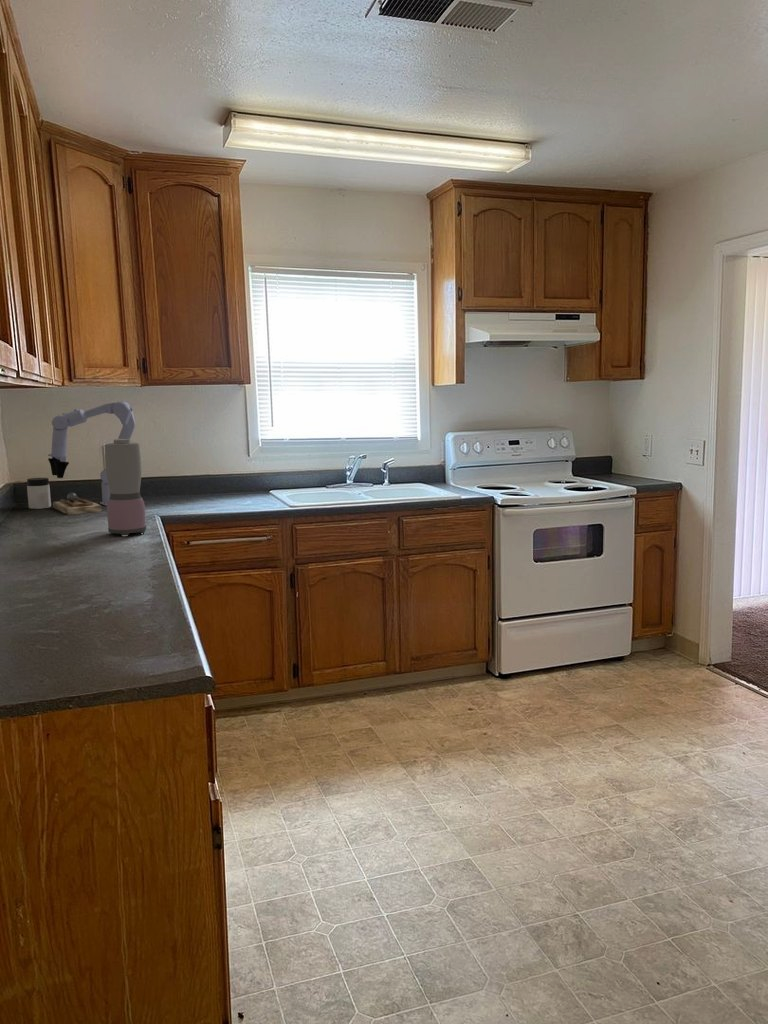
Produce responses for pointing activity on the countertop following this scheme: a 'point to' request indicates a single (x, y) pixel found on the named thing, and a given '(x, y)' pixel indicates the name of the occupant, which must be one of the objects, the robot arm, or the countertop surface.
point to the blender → (124, 487)
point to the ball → (72, 497)
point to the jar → (38, 493)
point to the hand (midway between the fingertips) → (57, 476)
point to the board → (77, 506)
